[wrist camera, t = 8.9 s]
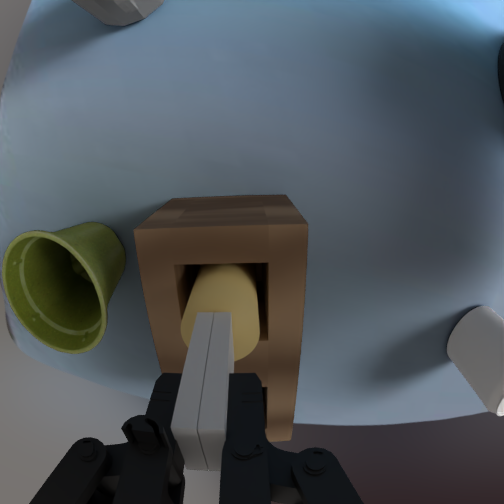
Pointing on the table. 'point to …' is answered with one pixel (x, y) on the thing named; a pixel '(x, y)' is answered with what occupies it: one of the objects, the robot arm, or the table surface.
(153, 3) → the water bottle
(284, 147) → the table surface
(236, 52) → the table surface
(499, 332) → the beverage can
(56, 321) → the plant pot
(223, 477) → the robot arm
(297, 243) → the walnut block
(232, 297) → the ochre peg
